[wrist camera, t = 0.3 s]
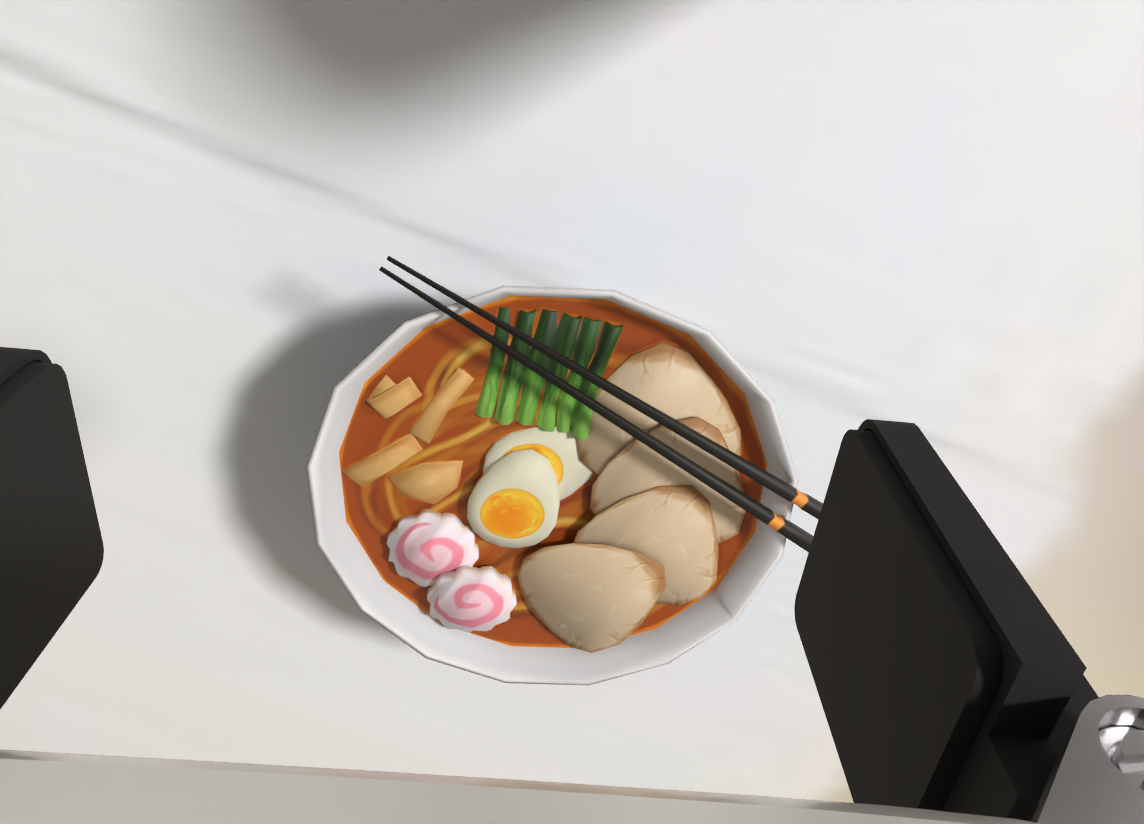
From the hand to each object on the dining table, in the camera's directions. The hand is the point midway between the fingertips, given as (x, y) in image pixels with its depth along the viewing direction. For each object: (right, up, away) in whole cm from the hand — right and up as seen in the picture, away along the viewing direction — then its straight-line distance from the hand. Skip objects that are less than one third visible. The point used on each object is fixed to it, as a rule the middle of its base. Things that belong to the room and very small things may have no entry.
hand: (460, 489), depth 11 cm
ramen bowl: (0, 0, +36) cm, 36 cm away
